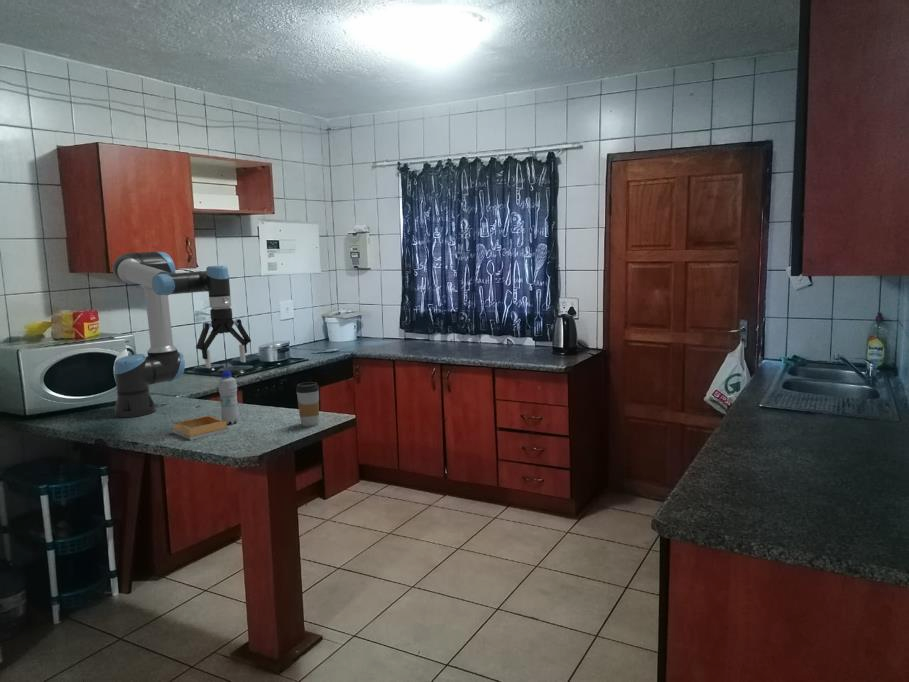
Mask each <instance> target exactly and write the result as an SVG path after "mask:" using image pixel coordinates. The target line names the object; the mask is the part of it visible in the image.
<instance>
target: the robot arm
mask: <svg viewBox="0 0 909 682" xmlns="http://www.w3.org/2000/svg"><path fill="white" fill-rule="evenodd" d="M112 272H113V275H114V276H115V277H116V279H118V280H119V281H121V282H123V283H127V284H133V283H136V284H138V285H139V287H141V288H142V289H143V290H144V297H145V304H146V305H145V306H146V313H147V314H146V316H147V323H148V334H149V343H150V348H149V349H148V350H147V353H146V354H147V356H146V355H145V354H144V353H136V354H135V353H134V354H130V355H127V356H126V355H125V356H122V357H120V358H118V359H117V360H115V362H114V371H113V372H114V376H115V384H116V394H117V398H116V401H115V406H114V409H113V410H114V417H117V418H135V417H142V416H145V415H146V416H147V415H149V414H153V413H154V412H156V411H157V408H156V403H155V402H154V400H153V397H152V395H151V393H150V388H149V385H155V384H161V383H165V382H173V381H176V380H178V379H180V378H181V377H182V376H183V375H184V372H185V370H186V369H185V367H186V362H185V358H184V355H183V354H182V352H180V351H178V348H177V347H176V346H175V345H174V343H173V340H174V339H173V333H172V322H171V312H170V303H169V301H170V300H169V296H170V295H177V294H189V293H192V294H193V293H201V292H202V293H203V292H204V293H206V292H208V301H209V308H210V311H209V312H210V319H211V321H210V323H209V322H203V323H202V330H201V332H200V335H199V338H198V341H197V343H196V346H195V349H197V350H200V351H201V354H202V356H201V357H202V359H203V360H204V362H205V368H206V369H211V368H212V363H211V351H210V349H209V347H210V346H211V344H212V343H213V341H214V339H216V337H217V336H218V335H219V334H220V335H221V334H222V335H223V334H224V333H225V334H228V333H230V334H231V335H232V337H234V338H235V339H236V340H237V341H238V343H240V344H239V345H238V347H239V348H238V349H239V360H240V362H241V363H247V362H246V361H247V360H246V354H247V352H248V350H247V349H248V348H247V345H248V344H249V343H251V342H252V340H251V338H250V336H249V334H248V333H247V331H246V329H245V328H244V326H243V324H242V320H241V319H240V318H235V319H233V308H232V298H231V297H232V296H231V287H230V286H231V283H230V275H229V274H230V273H229V269H228V266H227V265H211V266H210V265H209V266H207V267H206V271H205V270H204V271H202V270H199V271H196V270H195V271H191V272H176V266H175V263H174V260H173V259H172V257H171V256H170V255H169V254H168V253H166V252H164V251H146V252H145V251H142V252H141V251H140V252H126V253H124V254H121V255H120V256H118V257H117V258H116V259H115V260H114V261H113V263H112ZM233 326H236V328H237V330H238V331H239V333H240V334H239V333H238V332H237V331H236V329H235V328H234V327H233ZM211 328H212V330H211V331H210V333H209V330H210V329H211ZM208 333H209V335H208ZM207 336H208V337H207Z"/></svg>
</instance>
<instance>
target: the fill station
mask: <svg viewBox="0 0 909 682" xmlns="http://www.w3.org/2000/svg"><path fill="white" fill-rule="evenodd" d="M227 425H228V424H226V421H224V420H222V418H218V417H216V416H213V415H204V416H199V417H195V418H191V419H185V420H181V421H176V422H173V429H172V433H173V434H175V435H177V436H180V437H182V438H184V439H186V438H187V439H186V440H188V439H189V441H193V439H195V440H197V439H198V438H199V439H201V438H202V437H203V438H206V436H207V437H212V436H215V434H216V435H219V434H220V435H221V434H223V433H228V432H229V430H230V429H229V427H227Z"/></svg>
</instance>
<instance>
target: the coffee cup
mask: <svg viewBox="0 0 909 682" xmlns="http://www.w3.org/2000/svg"><path fill="white" fill-rule="evenodd" d="M319 387H320V386H319V384H318V382H314V381H313V382H312V381H308V382H301V383H298V384H297V385H296V388H295V391H296V395H297V396H296V397H297V406H298V414H299V418H300V423H301V425H302V426H303V427H313V426H317V425H318V424H319V422H320V421H319V420H320V416H319V415H320V394H319V393H320V392H319V391H320V388H319Z"/></svg>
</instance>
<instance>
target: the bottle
mask: <svg viewBox="0 0 909 682" xmlns="http://www.w3.org/2000/svg"><path fill="white" fill-rule="evenodd" d="M221 377H222V378H219V380H218V393H219V396H220V397H219V398H220V407H221V409H220V410H221V411H220V412H221V413H220V414H221V419H222V420H224V421H226V425H229V424H230V423H231V425H233V424H234V423H235V424H237V423H238V422H239V420H240V411H239V406H238V396H237V395H238V394H237V393H238V384H237V380H236V378H235V377H232V371H230V370H224V371H222V372H221Z"/></svg>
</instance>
